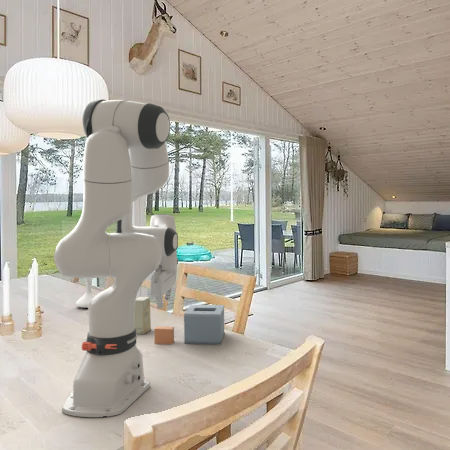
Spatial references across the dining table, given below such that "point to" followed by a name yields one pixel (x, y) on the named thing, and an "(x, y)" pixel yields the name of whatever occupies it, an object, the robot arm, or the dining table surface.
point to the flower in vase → (86, 295)
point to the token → (164, 335)
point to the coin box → (204, 324)
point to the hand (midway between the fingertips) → (164, 304)
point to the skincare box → (142, 315)
